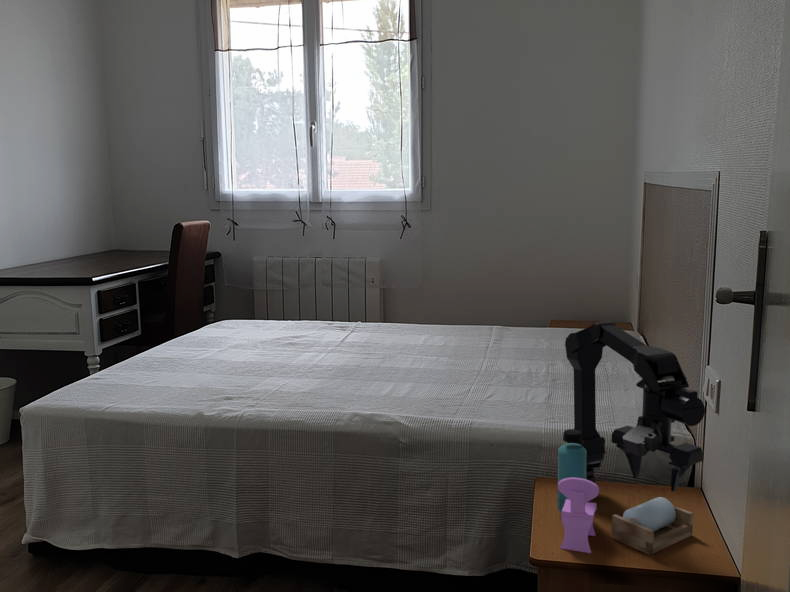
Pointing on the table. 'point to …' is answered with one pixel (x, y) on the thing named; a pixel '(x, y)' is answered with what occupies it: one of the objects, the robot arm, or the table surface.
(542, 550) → the table surface
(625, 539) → the holder
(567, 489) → the toy chair
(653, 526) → the roll
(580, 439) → the beverage bottle
